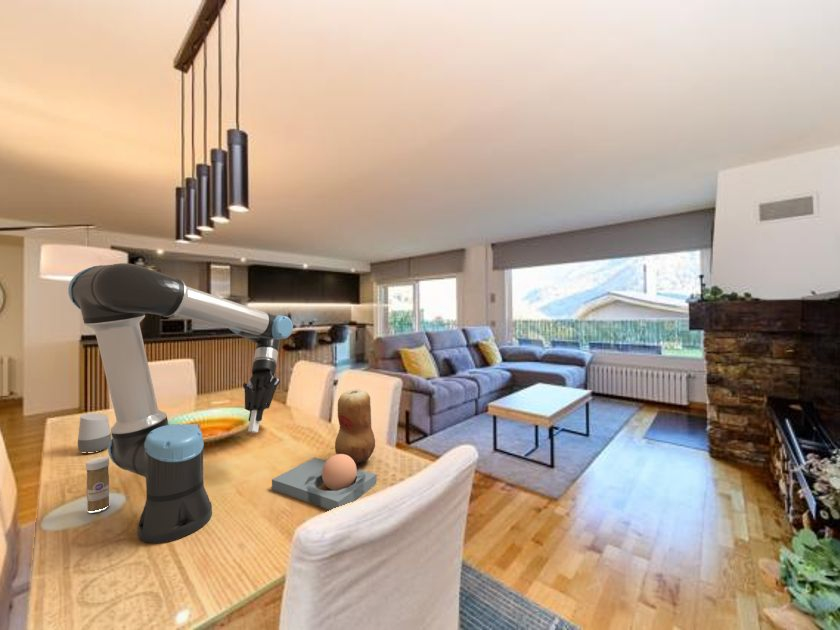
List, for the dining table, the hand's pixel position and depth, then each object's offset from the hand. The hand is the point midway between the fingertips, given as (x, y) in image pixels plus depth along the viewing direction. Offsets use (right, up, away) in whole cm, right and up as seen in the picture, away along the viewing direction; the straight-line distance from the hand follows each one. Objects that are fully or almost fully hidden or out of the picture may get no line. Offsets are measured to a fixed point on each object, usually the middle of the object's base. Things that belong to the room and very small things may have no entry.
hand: (253, 431), depth 110 cm
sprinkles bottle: (-33, -16, -16) cm, 40 cm away
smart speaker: (-71, -15, +23) cm, 76 cm away
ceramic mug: (-41, -15, +31) cm, 53 cm away
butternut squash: (+30, -15, +11) cm, 35 cm away
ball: (+29, -10, -6) cm, 31 cm away
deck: (+23, -15, -5) cm, 28 cm away
